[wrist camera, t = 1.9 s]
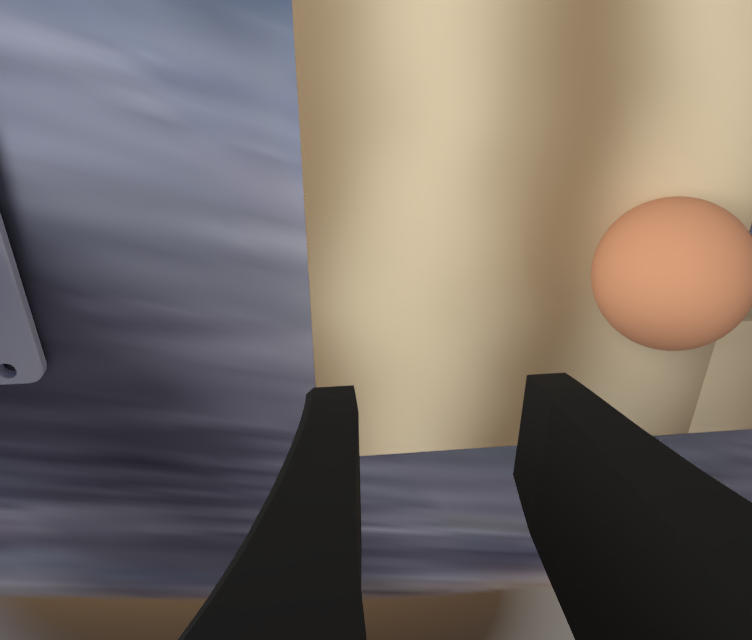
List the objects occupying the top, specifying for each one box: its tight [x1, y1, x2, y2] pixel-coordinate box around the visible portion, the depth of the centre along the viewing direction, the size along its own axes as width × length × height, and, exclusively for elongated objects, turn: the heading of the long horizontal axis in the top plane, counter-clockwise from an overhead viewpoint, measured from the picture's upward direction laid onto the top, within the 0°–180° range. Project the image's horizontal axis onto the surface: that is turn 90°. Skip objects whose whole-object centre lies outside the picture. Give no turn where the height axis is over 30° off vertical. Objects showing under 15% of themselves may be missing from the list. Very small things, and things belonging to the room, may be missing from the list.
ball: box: [591, 196, 752, 351], centre depth 15 cm, size 4×4×4 cm
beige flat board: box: [292, 0, 752, 456], centre depth 18 cm, size 18×13×2 cm
